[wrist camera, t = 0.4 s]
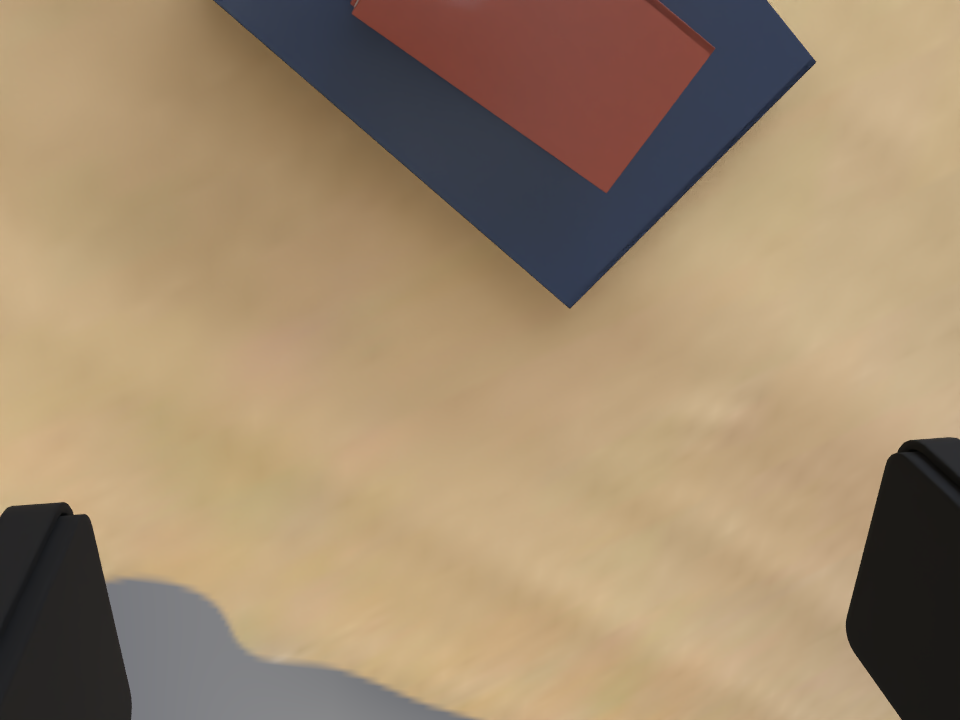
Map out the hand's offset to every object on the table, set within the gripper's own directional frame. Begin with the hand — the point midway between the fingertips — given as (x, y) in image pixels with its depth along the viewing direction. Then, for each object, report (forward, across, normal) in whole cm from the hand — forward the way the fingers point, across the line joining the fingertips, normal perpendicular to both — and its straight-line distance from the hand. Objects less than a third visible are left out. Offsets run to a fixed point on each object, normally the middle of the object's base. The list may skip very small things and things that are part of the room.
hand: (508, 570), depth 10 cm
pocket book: (+26, -5, -4) cm, 27 cm away
